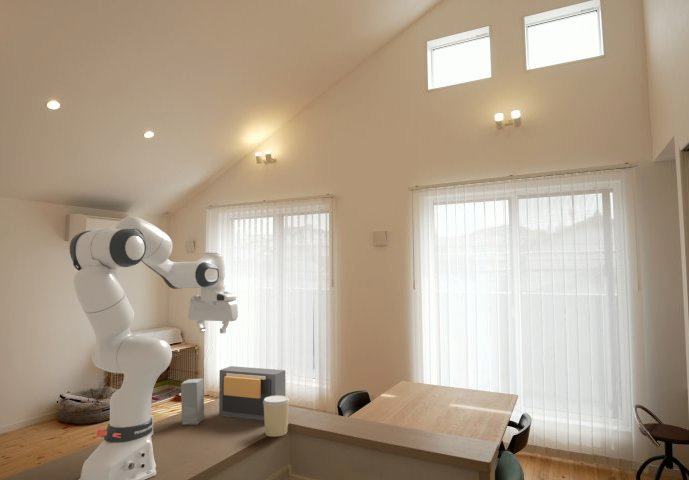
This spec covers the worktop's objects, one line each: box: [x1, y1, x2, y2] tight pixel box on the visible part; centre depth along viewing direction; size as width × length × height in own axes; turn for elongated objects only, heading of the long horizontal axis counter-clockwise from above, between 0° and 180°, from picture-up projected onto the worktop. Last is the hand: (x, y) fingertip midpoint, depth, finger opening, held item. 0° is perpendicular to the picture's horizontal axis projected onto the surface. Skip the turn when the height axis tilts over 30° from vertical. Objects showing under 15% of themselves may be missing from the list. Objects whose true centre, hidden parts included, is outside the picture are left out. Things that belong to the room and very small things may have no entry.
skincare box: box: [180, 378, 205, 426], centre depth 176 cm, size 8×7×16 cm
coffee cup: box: [263, 395, 290, 438], centre depth 163 cm, size 9×9×12 cm
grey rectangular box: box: [218, 365, 286, 422], centre depth 182 cm, size 9×26×18 cm, turn 69°
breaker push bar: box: [224, 376, 261, 399], centre depth 177 cm, size 3×16×7 cm, turn 69°
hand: (212, 332), depth 170 cm, fingers open, 8 cm apart
